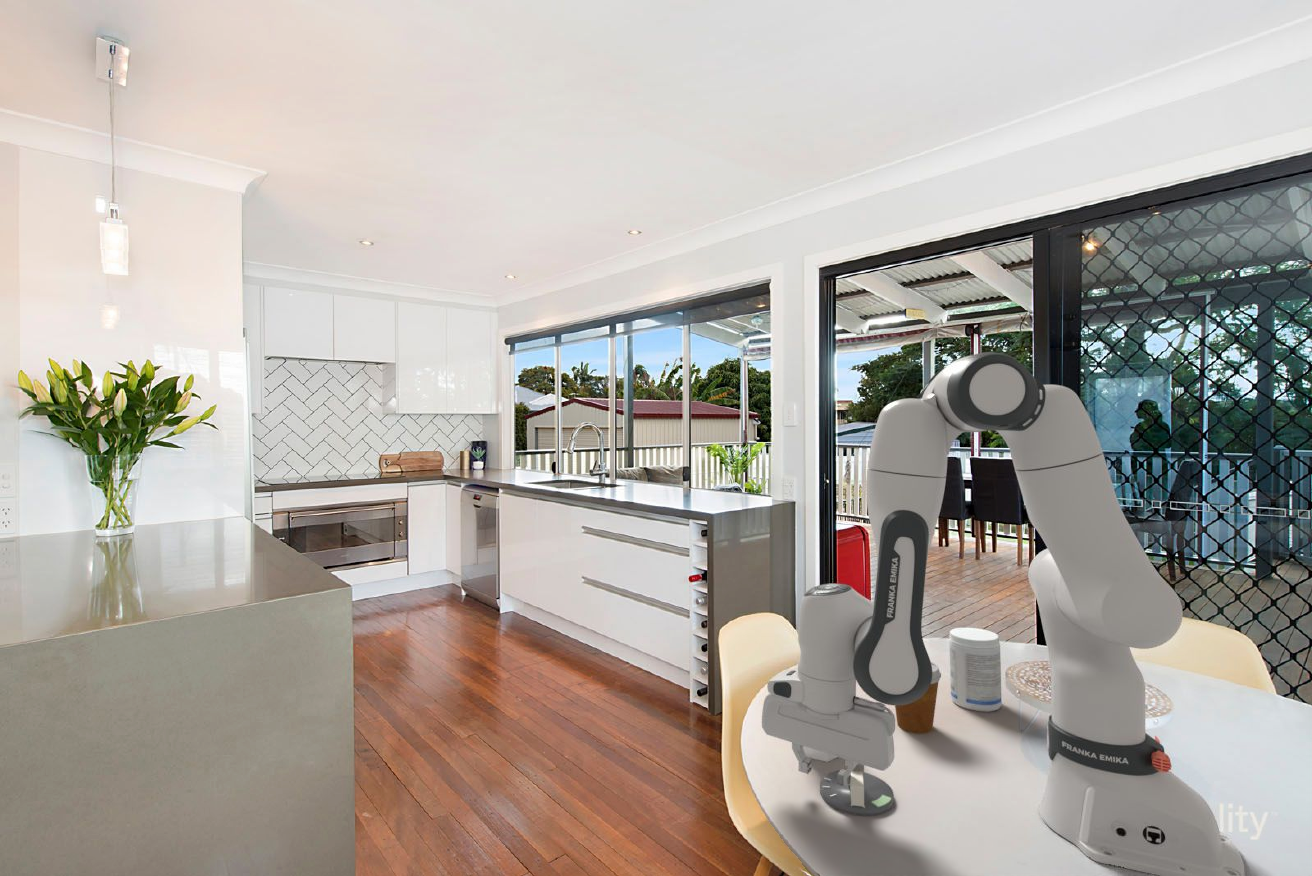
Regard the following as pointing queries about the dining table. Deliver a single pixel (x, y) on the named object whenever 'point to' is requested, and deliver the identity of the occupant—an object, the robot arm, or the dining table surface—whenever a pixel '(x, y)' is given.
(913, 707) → the disposable coffee cup
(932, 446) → the robot arm
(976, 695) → the supplement tub
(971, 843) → the dining table surface
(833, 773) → the dial
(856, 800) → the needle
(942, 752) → the dining table surface
